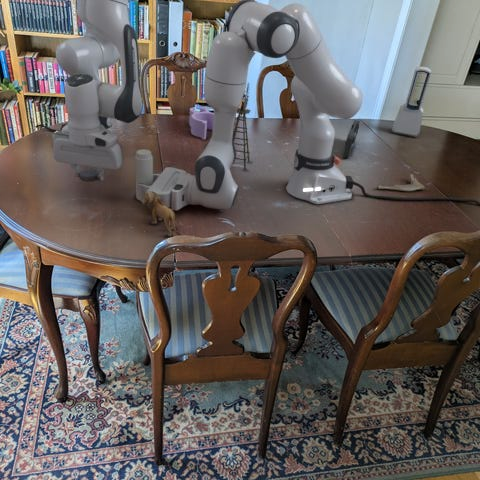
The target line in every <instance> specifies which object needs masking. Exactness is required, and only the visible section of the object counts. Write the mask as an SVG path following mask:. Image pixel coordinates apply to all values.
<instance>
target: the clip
mask: <svg viewBox="0 0 480 480" xmlns="http://www.w3.org/2000/svg"><path fill="white" fill-rule="evenodd" d="M188 119H189V120H188V121H189V122H188V125H189V127H190V134H191V135H193V136H195V137H197V138H201V140H206V139H207V130H211V131H213V122H214V112H211V111H210V109H209V108H206V107H203V106H200V107H199V111H196V108H195V107H190V108H189V118H188Z"/></svg>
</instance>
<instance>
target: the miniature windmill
mask: <svg viewBox="0 0 480 480" xmlns="http://www.w3.org/2000/svg"><path fill="white" fill-rule="evenodd" d="M249 91H250V82H247V85H246V90H245V92H244V95H243V98H242V99H243V101H241V104H240V107H239V108H238V110H237V113H236V114H238V115H237V117H236V121H235V125H234V132H233V142H234V145H237V146H243V150H239V149H235V150H236V153H237V152H238V153H243V158H239V157H236V159H235V160H238V161H239V160H240V161H243V170H245V171H246V170H247V162H248V163H250V162H251V158H250V153H251V152H250V148H249V137H248V128H247V127H248V126H247V114H250V113H251V111H252V110H251V109H248V108H247V107H248V105H249V103H248V102H249V98H250V96H249V94H250V92H249ZM239 121H242V126H239ZM238 129H242V130H241V131H240V130H238ZM237 133H240V134H243V138H241V137H236V135H237ZM236 139H237V140H240V141H243V143H237V142H235V140H236ZM246 154H247V155H246Z"/></svg>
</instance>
